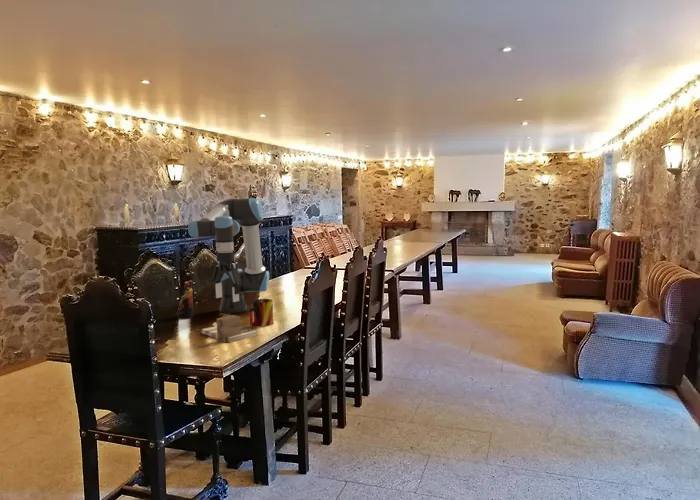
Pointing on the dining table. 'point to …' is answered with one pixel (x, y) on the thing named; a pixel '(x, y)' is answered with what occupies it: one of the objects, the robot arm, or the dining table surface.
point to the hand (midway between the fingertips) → (227, 299)
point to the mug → (262, 313)
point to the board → (244, 334)
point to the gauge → (229, 327)
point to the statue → (186, 302)
